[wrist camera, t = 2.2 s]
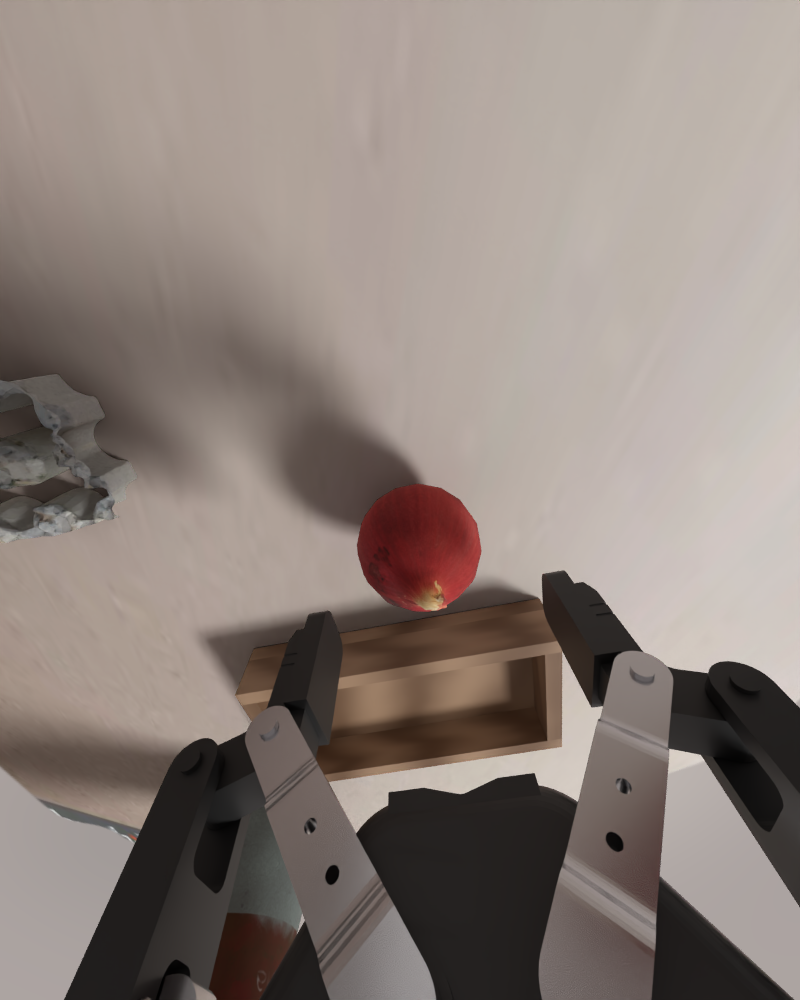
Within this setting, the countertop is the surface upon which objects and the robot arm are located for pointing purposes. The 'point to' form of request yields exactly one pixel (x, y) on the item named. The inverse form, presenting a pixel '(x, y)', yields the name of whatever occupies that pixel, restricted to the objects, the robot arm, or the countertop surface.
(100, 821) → the countertop surface
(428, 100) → the countertop surface
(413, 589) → the onion
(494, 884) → the robot arm
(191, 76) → the countertop surface
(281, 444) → the countertop surface
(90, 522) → the egg carton
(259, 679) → the wooden tray
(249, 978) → the bottle
